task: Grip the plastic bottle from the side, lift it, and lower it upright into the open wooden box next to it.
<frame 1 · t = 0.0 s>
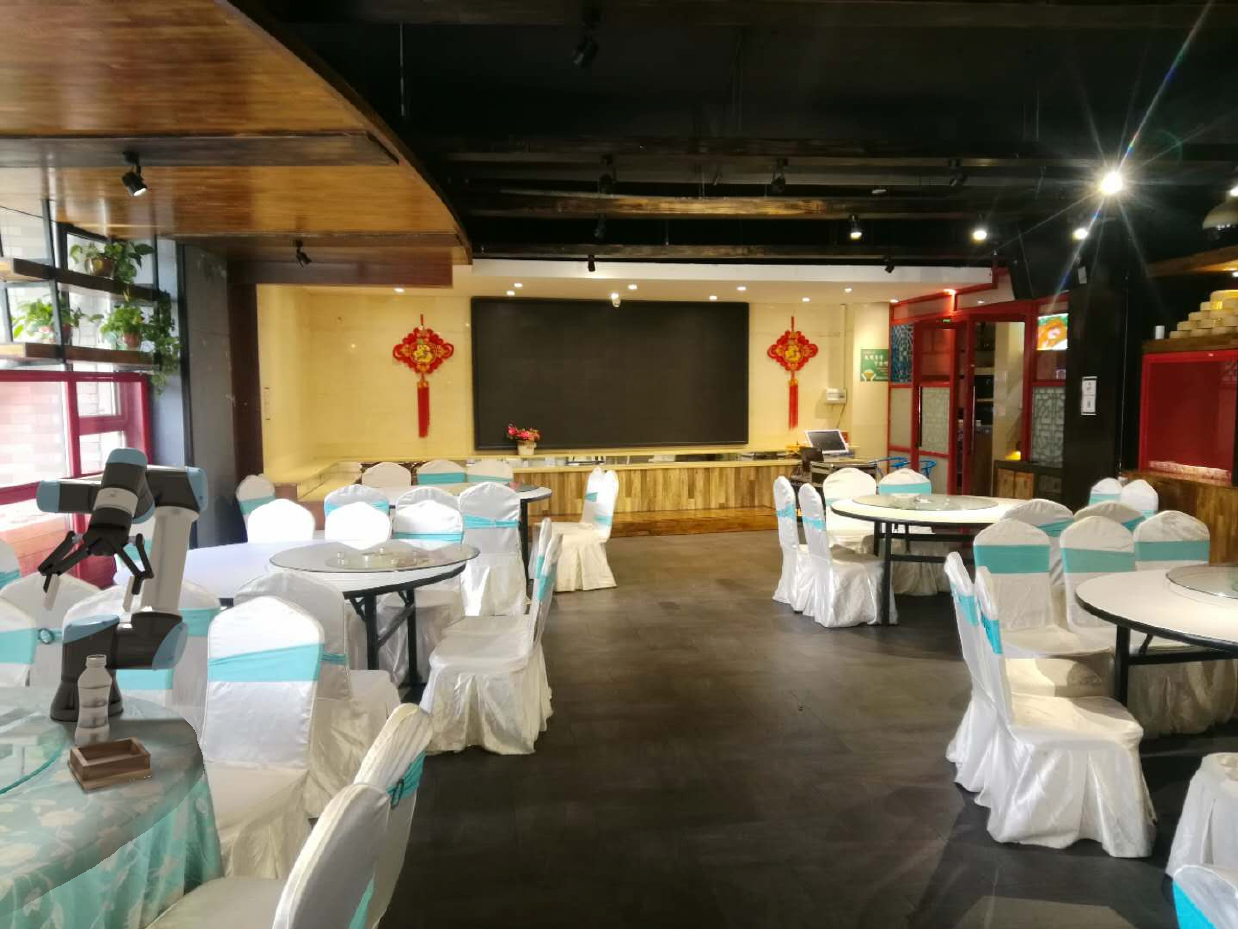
hand: (87, 608, 163), 36 cm above the table, tool tilted 35°, fingers open, 13 cm apart
open wooden box: (109, 770, 174), on the table
plastic bottle: (91, 747, 186), on the table
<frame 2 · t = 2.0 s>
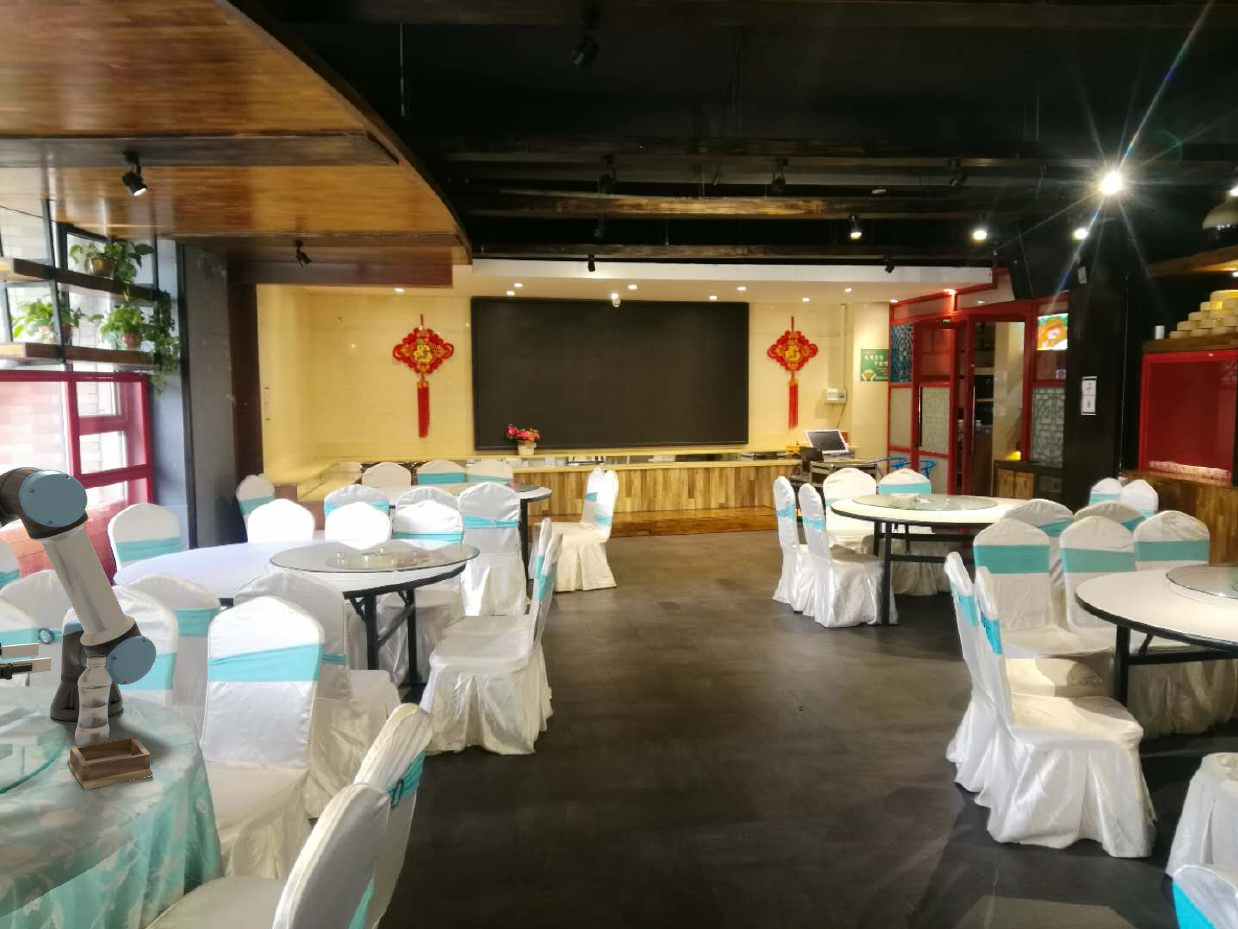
hand: (44, 656, 178), 21 cm above the table, tool horizontal, fingers open, 13 cm apart
nothing on the table moved.
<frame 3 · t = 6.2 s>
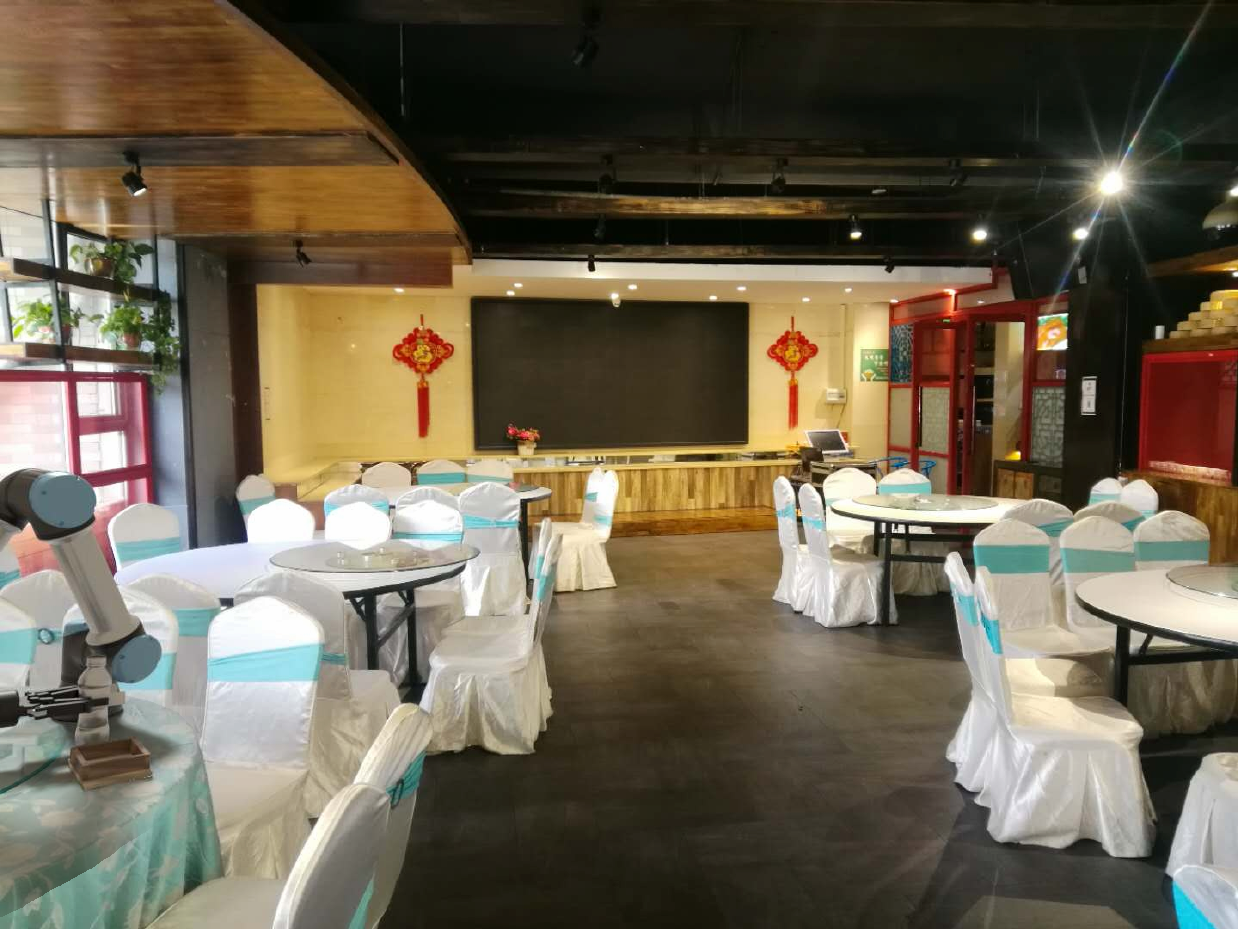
hand: (120, 693, 189), 11 cm above the table, tool horizontal, fingers closed on plastic bottle, 6 cm apart
plastic bottle: (91, 746, 186), on the table, touching gripper
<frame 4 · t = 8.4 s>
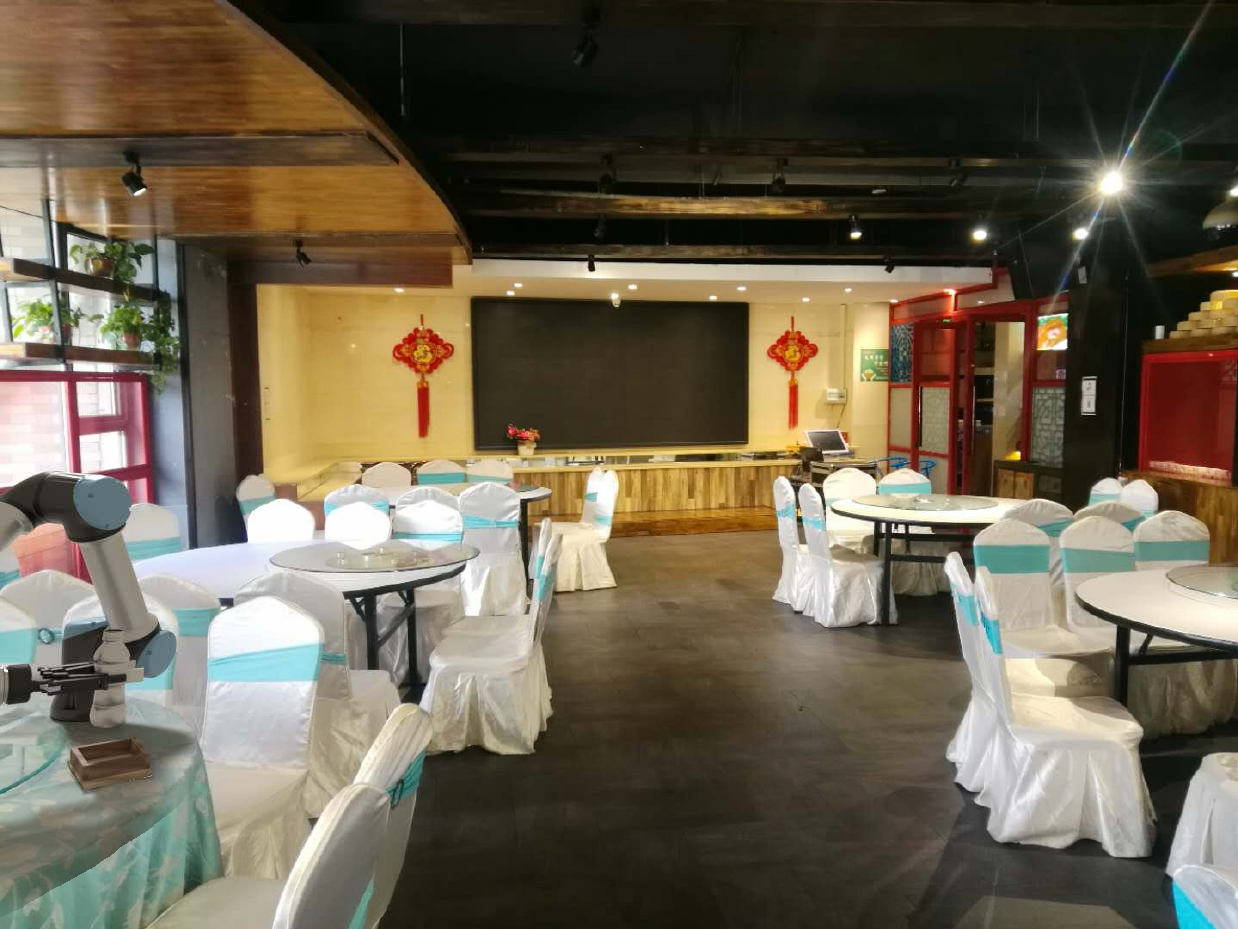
hand: (138, 670, 177), 20 cm above the table, tool horizontal, fingers closed on plastic bottle, 6 cm apart
plastic bottle: (107, 727, 174), point 9 cm above the table, touching gripper
when the fingers open (13 cm above the table, at t = 10.7 s): plastic bottle drops 1 cm, resting on open wooden box.
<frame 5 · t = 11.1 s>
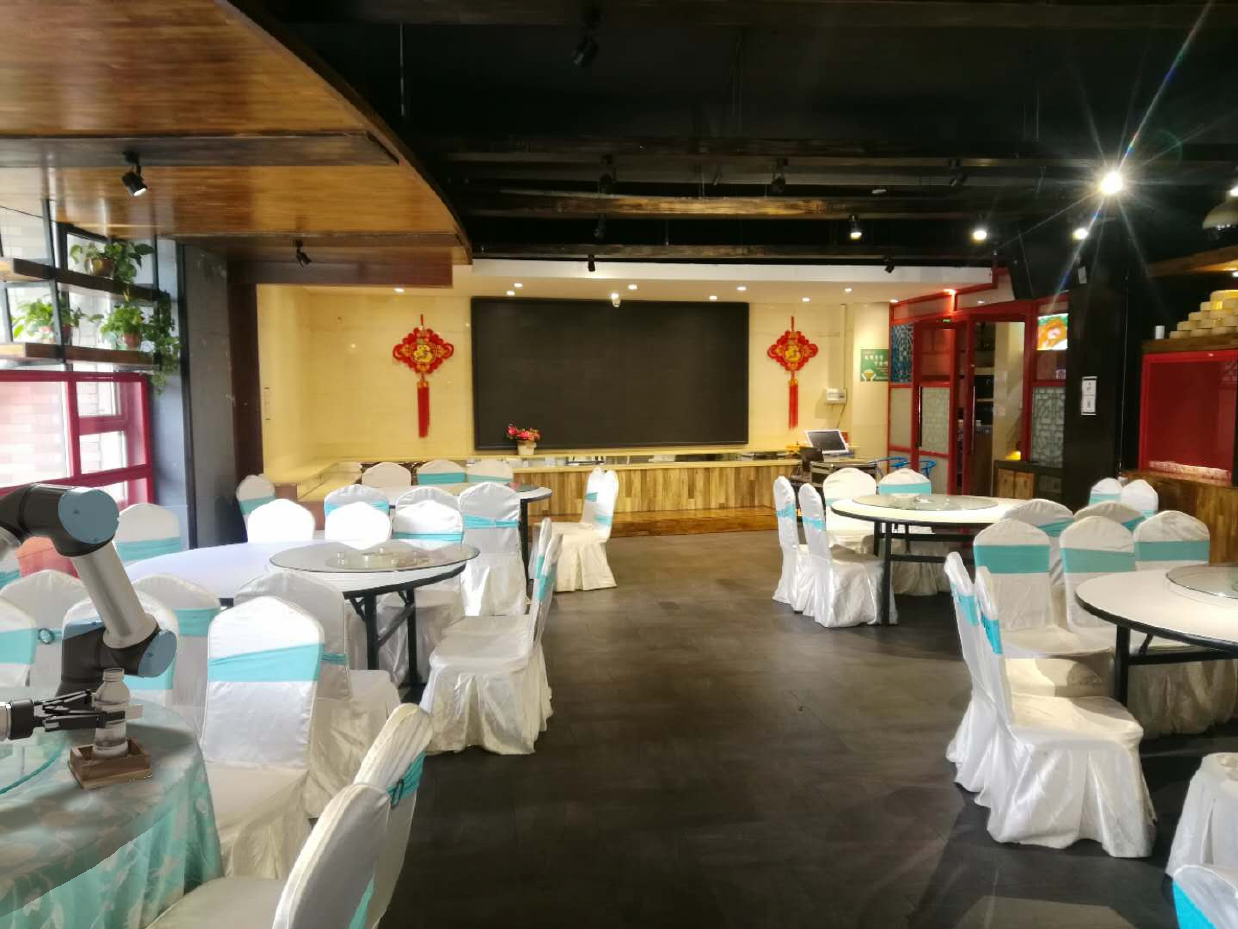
hand: (134, 702, 177), 13 cm above the table, tool horizontal, fingers open, 11 cm apart
plastic bottle: (109, 766, 174), point 1 cm above the table, touching open wooden box
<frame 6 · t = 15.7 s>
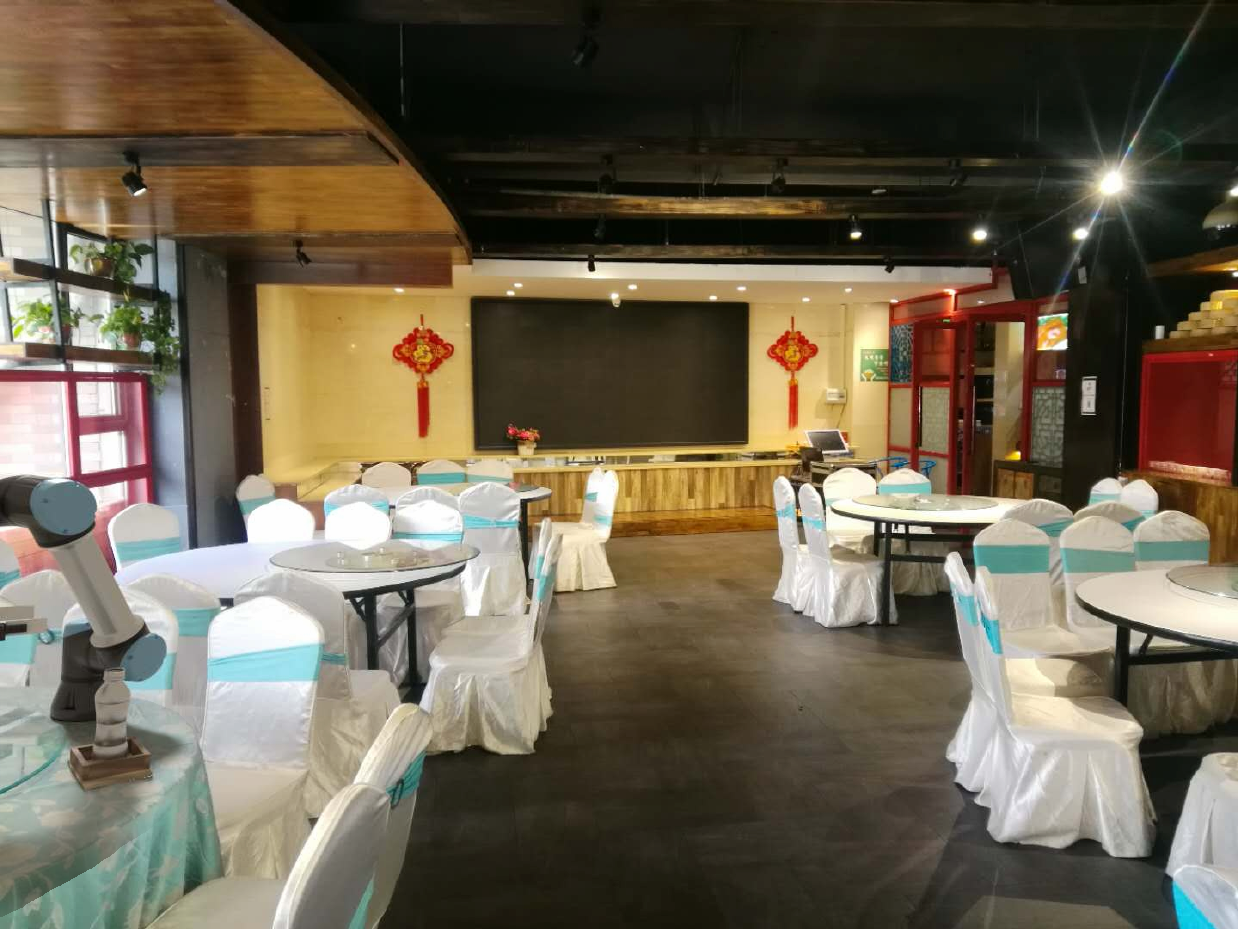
hand: (40, 618, 168), 32 cm above the table, tool horizontal, fingers open, 13 cm apart
nothing on the table moved.
at the end: plastic bottle 0.2 cm off-centre on the open wooden box, point 0.8 cm above the open wooden box's base; plastic bottle tilted 0°; the gripper is holding nothing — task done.
